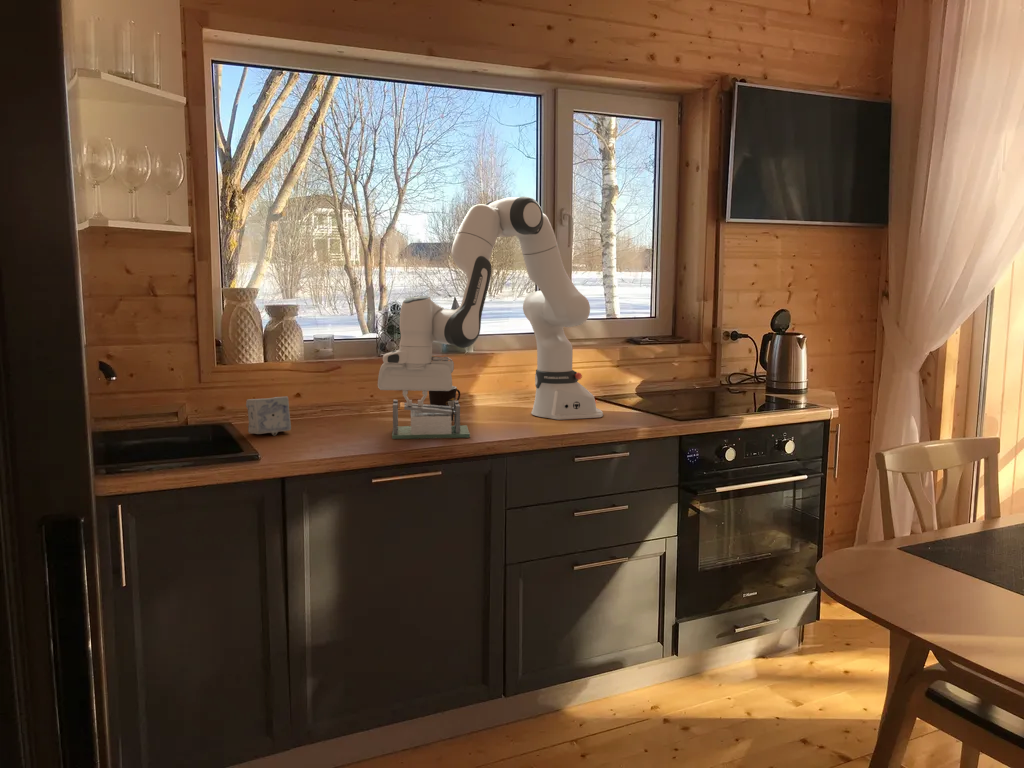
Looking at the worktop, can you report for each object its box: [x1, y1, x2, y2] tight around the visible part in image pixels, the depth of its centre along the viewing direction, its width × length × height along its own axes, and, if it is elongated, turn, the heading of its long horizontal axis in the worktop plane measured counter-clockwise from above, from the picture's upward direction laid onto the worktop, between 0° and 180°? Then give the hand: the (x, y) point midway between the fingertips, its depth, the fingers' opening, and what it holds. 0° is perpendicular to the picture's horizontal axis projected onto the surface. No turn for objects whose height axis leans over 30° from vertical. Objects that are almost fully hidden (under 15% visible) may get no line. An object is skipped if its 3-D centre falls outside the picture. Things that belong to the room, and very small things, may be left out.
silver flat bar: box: [399, 401, 451, 410], centre depth 228 cm, size 14×3×1 cm, turn 97°
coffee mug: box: [428, 385, 461, 422], centre depth 246 cm, size 12×9×10 cm
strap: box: [399, 403, 452, 414], centre depth 223 cm, size 14×3×1 cm, turn 97°
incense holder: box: [245, 395, 292, 436], centre depth 224 cm, size 10×8×10 cm
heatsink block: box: [391, 399, 471, 440], centre depth 226 cm, size 21×12×9 cm, turn 97°
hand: (414, 406), depth 222 cm, fingers closed
